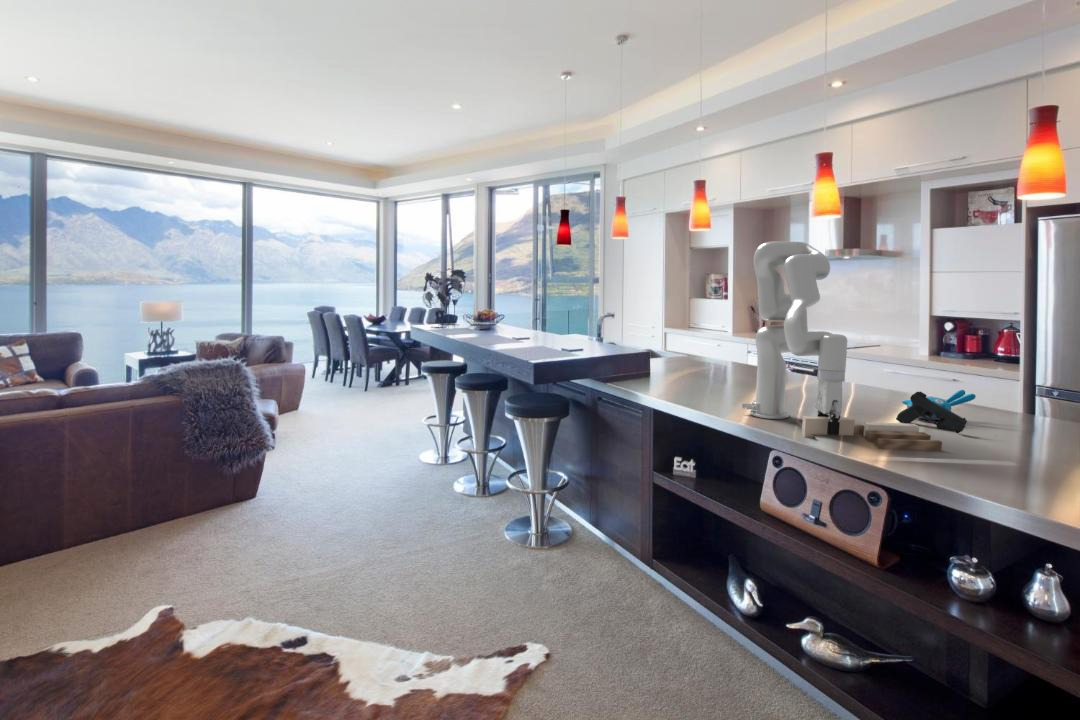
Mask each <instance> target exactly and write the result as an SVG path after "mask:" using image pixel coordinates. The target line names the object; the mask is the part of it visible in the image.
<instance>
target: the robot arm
mask: <svg viewBox="0 0 1080 720" xmlns="http://www.w3.org/2000/svg"><path fill="white" fill-rule="evenodd" d="M777 267H778V268H779V267H783V270H784V274H785V275H784V276H785V278H786V279H785V280H786V283H787V288H788V292H789V293H786V292H785V284H784V283H785V282H784V281H785V280H784V278H783V276H782V274H781V273H780V272H779V271H778V269H777ZM753 270H754V273H755V274H754V275H755V278H756V282H757V298H758V299H757V303H758V313H759V317H760V318H761V319H762V320H763V321H765V322H783V324H774V325H773V324H772V325H766V326H763V327H761V328H759V329H758V330H757V332H756V334H755V346H756V347H755V348H756V354H757V357H756V358H757V361H756V362H757V365H756V366H757V367H756V368H757V369H756V384H755V385H756V387H755V389H756V390H755V400H753V401H752V402H750V403H747V402H741V405H740V407H741V409H742V410H743V409H746V410H750V415H751V416H754V417H756V418H760V419H768V420H770V419H771V420H783V419H787V418H789V415H790V414H789V412H788V411H786V410H785V406H786V405H785V403H786V384H787V363H786V361H785V359H784V357H783V355H782V354H784V353H791V354H792V355H794V356H797V357H810V356H811V357H812V356H813V357H815V356H818V363H817V375H816V379H817V380H818V382H817V386H816V395H815V405H814V407H815V409H816V410H817V417H829V421H828V426H827V434H828V435H827V436H840V435H839V426H840V417H841V414H842V407H843V382H845V381H846V369H847V368H846V367H847V366H846V365H847V353H848V352H847V350H848V338H847V336H846V335H844V334H838V333H832V332H828V331H823V330H821V331H809V330H808V311H807V310H808V308H810V307H812V306H814V305H816V304H817V303H818V302H820V300H821V294H820V291H819V286H818V282H817V281H822V280H824V279H826V278H828V276H829V274H830V273H831V263H830V261H829V259H828V257H827V256H826V255H825V254H824V253H823V252H821V251H819V250H818V249H816V248H815V247H814V246H812V245H811V244H809V243H806V242H803V241H785V240H784V241H783V240H781V241H780V240H779V241H778V240H777V241H776V240H774V241H772V240H771V241H766V242H763V243H761V244H759V246H757V248H756V249H755V252H754V254H753Z"/></svg>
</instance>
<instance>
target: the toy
mask: <svg viewBox="0 0 1080 720" xmlns="http://www.w3.org/2000/svg"><path fill="white" fill-rule="evenodd" d="M926 398H928V399H930V400H931V401H933V402H935V403H937V404H939V405H940V406H942V407H944V408H946V409H948V410H949V411H951V412H952V407H954V406H958V405H962V404H964V403H968V402H971V401H973V400H975V399H976V394H974V393H969V394H966V390H964V389H959V390H958V391H956V392H955V393H953V394H952V395H951V396H949V398H947V399H946V400H944V399H943V398H938V397H934V396H926ZM901 403H902V404H903V405H905V406H906V409H907V408H908V407H910V406H912V402H911V400H910V399H906V400H902V401H901ZM925 416H926V418H928V419H930V420H932V421H938V420H939V421H940V419H939V418H937V417H936V416H935V414H933V415H932V417H931V418H930V417H928V416H927V415H925ZM918 418H919V419H922V418H923V417H918ZM918 418H917V419H918ZM922 420H926V419H925V418H923V419H922Z"/></svg>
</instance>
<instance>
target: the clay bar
mask: <svg viewBox="0 0 1080 720" xmlns="http://www.w3.org/2000/svg"><path fill="white" fill-rule="evenodd" d="M828 421H829V417H818V416H811V415H810V416H807V415H806V416H805V415H802V427H801V436H803V438H815V435H823V436H824V435H827V436H829V435H828V434H827V426H828ZM854 430H855V419H854V418H852V417H843V416H840V426H839V435H838V436H854V432H855V431H854Z"/></svg>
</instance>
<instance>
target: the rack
mask: <svg viewBox="0 0 1080 720" xmlns="http://www.w3.org/2000/svg"><path fill="white" fill-rule="evenodd" d="M856 434H857V435H858V436H860V437H862V438H863V439H865V440H866V441H867V442H869V443H870V444H871V445H873V446H875V447H876V448H877V449H880V450H904V451H928V452H929V451H933V452H935V451H938V452H942V447H943V441H942V440H936V439H935V440H933V439H931V435H930V434H929V433H927V432H923V431H919V432H901V431H869V430H866V431H865V436H864V435H863V434H864V424H857V427H856Z"/></svg>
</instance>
